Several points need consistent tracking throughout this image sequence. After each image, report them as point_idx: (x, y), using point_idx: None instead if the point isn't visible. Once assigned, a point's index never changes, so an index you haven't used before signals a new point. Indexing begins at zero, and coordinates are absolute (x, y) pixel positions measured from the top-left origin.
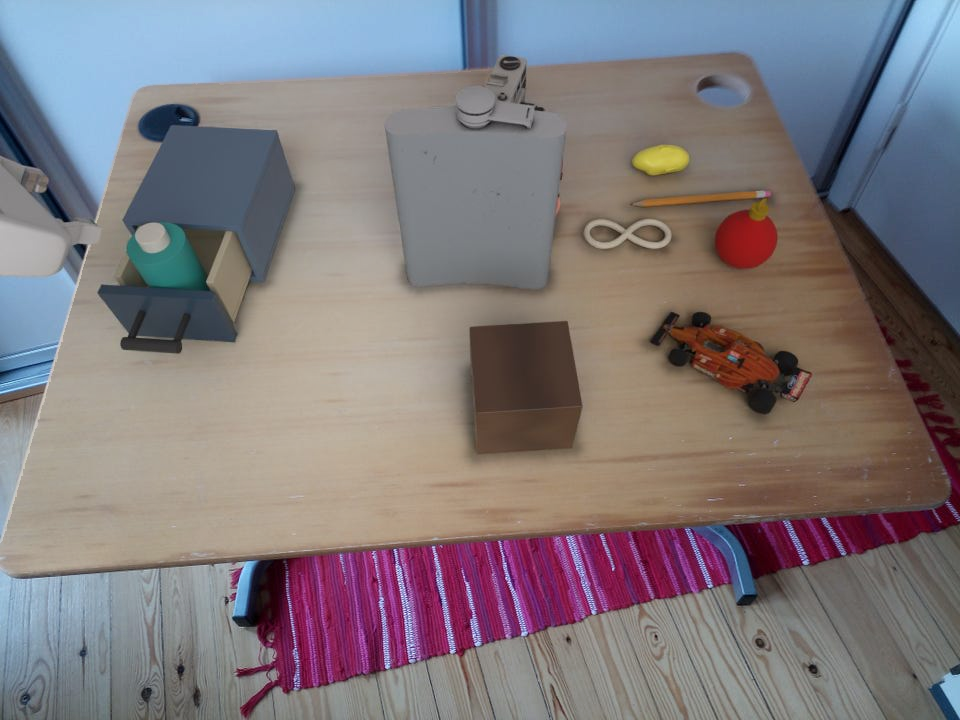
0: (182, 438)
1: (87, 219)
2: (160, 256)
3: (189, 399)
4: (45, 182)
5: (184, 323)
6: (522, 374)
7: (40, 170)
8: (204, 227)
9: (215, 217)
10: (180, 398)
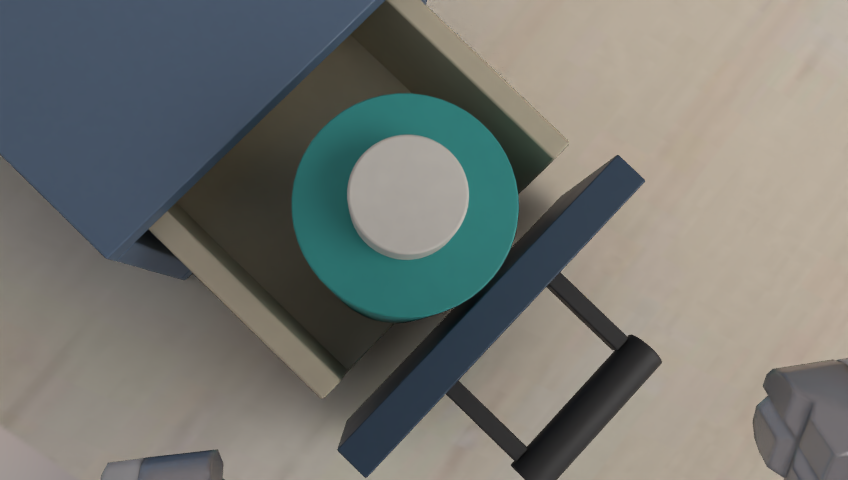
0: (747, 466)
1: (808, 392)
2: (487, 220)
3: (651, 400)
4: (220, 478)
5: (582, 295)
6: None
7: (128, 468)
8: (340, 40)
9: None
10: (633, 417)
